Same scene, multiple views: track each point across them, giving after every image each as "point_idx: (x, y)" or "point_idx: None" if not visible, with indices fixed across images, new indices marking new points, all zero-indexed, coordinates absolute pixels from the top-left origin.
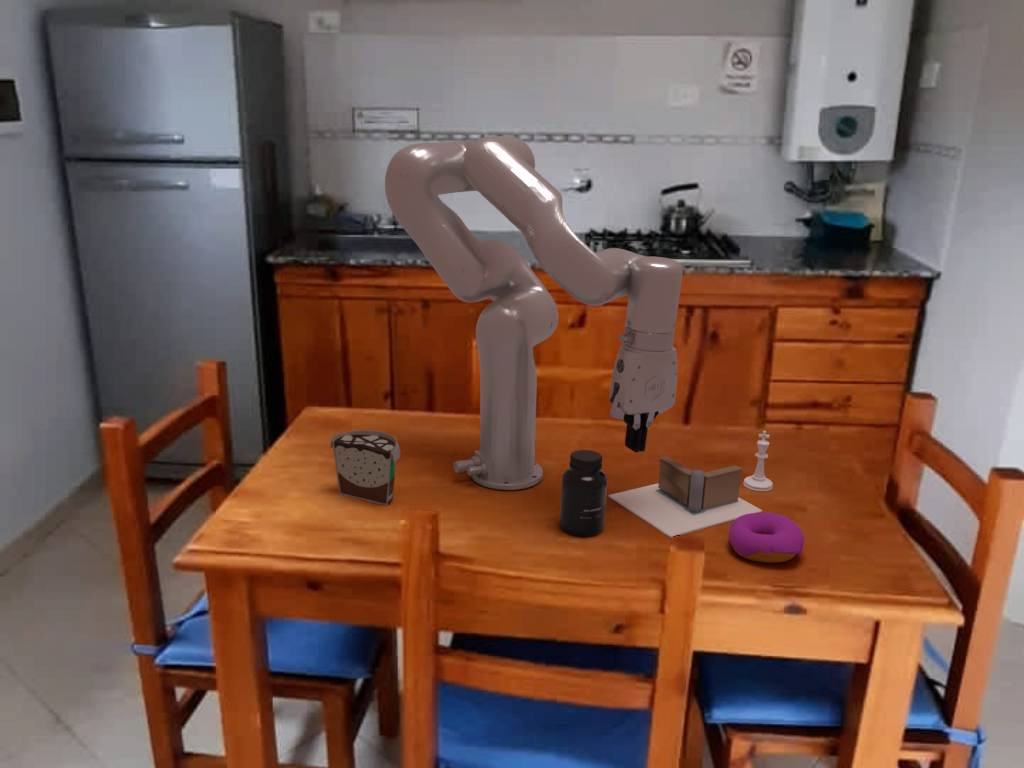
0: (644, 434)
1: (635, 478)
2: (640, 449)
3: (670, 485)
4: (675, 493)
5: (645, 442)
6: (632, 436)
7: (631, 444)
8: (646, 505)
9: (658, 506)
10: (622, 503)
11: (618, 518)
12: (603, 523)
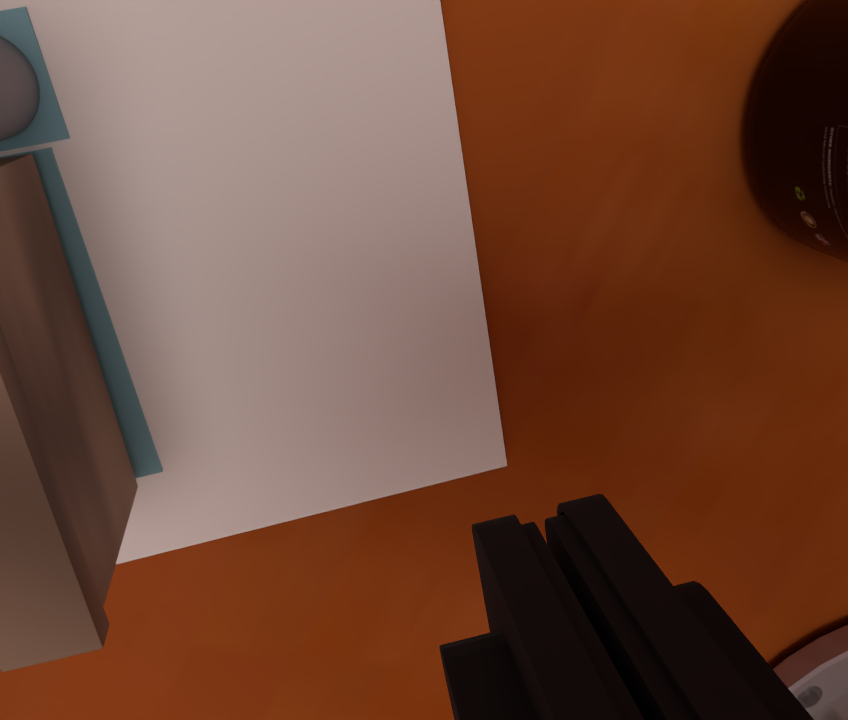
0: (602, 685)
1: (213, 664)
2: (535, 535)
3: (81, 393)
4: (69, 310)
5: (508, 594)
6: (764, 676)
7: (697, 586)
8: (335, 271)
9: (254, 236)
10: (479, 341)
11: (594, 164)
12: (821, 11)
